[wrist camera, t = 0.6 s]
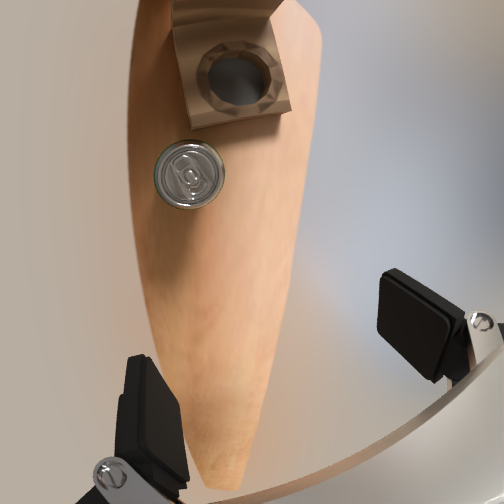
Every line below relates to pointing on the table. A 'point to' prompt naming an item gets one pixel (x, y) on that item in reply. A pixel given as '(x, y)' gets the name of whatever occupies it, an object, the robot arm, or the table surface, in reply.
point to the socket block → (228, 60)
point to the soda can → (189, 174)
